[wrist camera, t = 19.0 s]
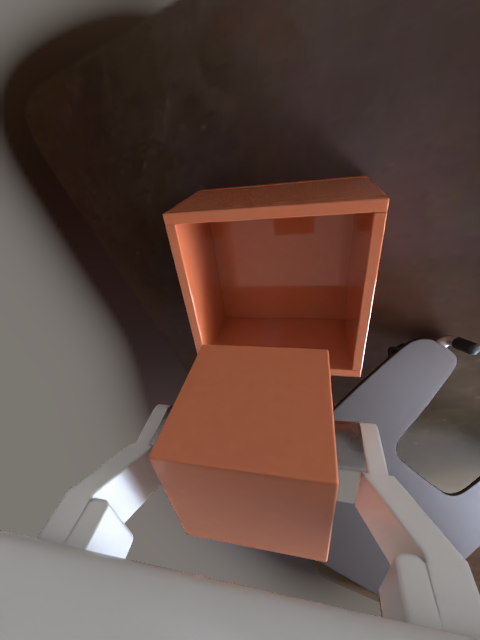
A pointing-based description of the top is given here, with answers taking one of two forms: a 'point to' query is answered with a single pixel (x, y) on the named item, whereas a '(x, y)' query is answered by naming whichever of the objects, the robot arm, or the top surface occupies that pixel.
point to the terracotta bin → (282, 265)
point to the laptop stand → (392, 421)
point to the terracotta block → (253, 449)
